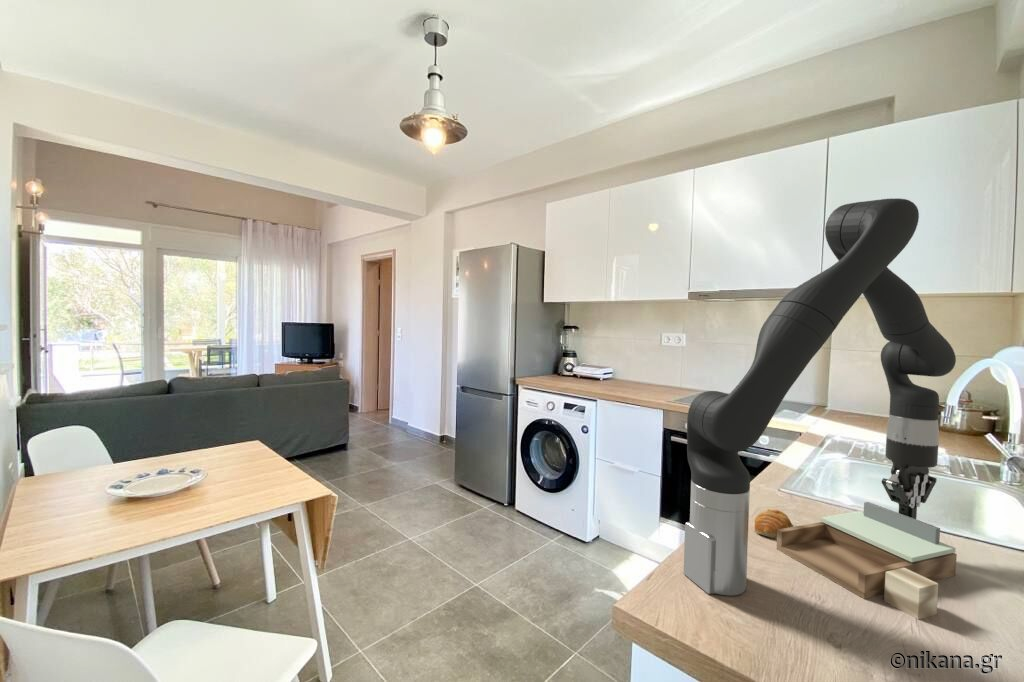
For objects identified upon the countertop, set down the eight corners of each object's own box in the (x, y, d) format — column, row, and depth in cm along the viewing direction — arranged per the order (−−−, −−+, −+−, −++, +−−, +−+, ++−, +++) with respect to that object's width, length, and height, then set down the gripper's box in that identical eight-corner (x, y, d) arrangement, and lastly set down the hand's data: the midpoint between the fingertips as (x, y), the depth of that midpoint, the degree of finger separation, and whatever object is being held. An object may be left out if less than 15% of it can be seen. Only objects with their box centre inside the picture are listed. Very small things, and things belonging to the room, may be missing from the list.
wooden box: (864, 598, 68) (865, 575, 68) (776, 548, 84) (777, 529, 84) (955, 575, 76) (956, 554, 75) (859, 533, 91) (860, 515, 91)
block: (917, 619, 64) (919, 588, 64) (884, 601, 68) (885, 571, 68) (936, 614, 65) (938, 583, 65) (902, 596, 69) (903, 567, 69)
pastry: (781, 544, 86) (781, 526, 86) (745, 532, 91) (746, 515, 91) (794, 530, 92) (795, 514, 92) (761, 520, 97) (761, 504, 97)
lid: (911, 562, 72) (912, 541, 72) (820, 521, 87) (821, 503, 87) (955, 552, 75) (956, 532, 75) (860, 514, 91) (860, 497, 90)
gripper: (912, 446, 77) (907, 537, 78) (957, 442, 81) (952, 528, 82) (867, 436, 84) (863, 519, 85) (910, 432, 88) (906, 511, 89)
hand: (907, 523), depth 83 cm, fingers closed
